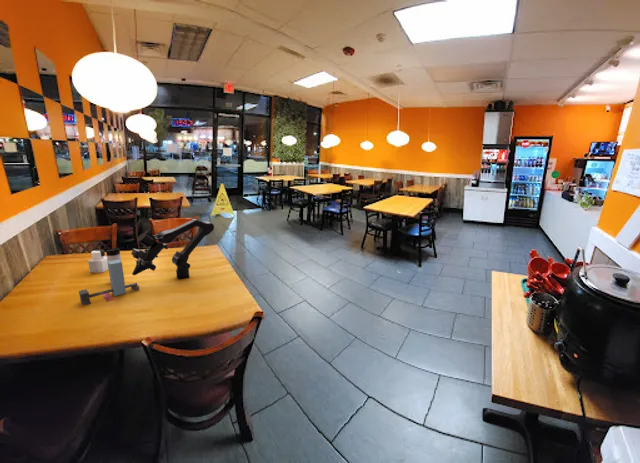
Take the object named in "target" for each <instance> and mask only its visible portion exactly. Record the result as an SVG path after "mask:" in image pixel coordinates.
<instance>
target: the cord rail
mask: <svg viewBox="0 0 640 463" xmlns="http://www.w3.org/2000/svg"><path fill="white" fill-rule="evenodd" d="M129 288H130V290H131V291H132V292H136V291H140V286H139V284H138V282H133V283H129V284H125V289H129ZM112 292H113V289H111V288H109V289H106V290H101V291H97V292H94V293H89V290H88V289H81V290H78V295H79V299H80V303H81V305H82V306H83V307H84V306H87V305H90V304H91V303H92V302H91V298H94V297H95V298H96V297H99V296H102V297H103V298H104V299H105V301H106V302H109V301H110V302H111V301H113V300H115V298H114V297H113V296H112V295H111V294H110V293H112Z"/></svg>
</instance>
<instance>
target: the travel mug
mask: <svg viewBox="0 0 640 463" xmlns="http://www.w3.org/2000/svg"><path fill="white" fill-rule="evenodd" d="M120 251H121V250H120V248H119V247H113V248H109V249H106V250H105V254H106V257H107V261H114V260H120V261H121V262H122V256H121V252H120Z"/></svg>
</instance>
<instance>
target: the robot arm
mask: <svg viewBox="0 0 640 463" xmlns="http://www.w3.org/2000/svg"><path fill="white" fill-rule="evenodd" d="M196 227H198V230H197V232H196V234H195V235H194V236H193V237H192V238H191V239H190V241H188V243H187V244H186V246H185V247H184V248H183V249H182V250H181V251H178V250H176V252H175V253H174V254H173V255H172V258H171V263H172V264H173V265H175V266H176V269H175V272H176V278H177V280H181V279H189V278H190V267H191V264H190V263H188V260H189V258H190V255H191V254H192V252H193V251H194V250H195V248H197V246H198V245H199V244H200V242H202V240H203V239H204V237H206V236H208V235H210V234H211V233H213V231H214V230H215V225H214V224H213V223H212V222H209V221H206V220H204V221H202V220H199V219H196V218H193V219H190V220H188V221H186V222H184V223H183V224H181V225H178V226H177V227H174V228H172V229H165V230H163V231H161V232H159V233H158V234H155V235H153V234H151V233H150V232H149V231H145V232H143V233H142V234H140V235H139V236H138V237H137V239H136V240H137V242H138V243H139V244H141V245H143V246H144V247H147V248H148V249H146V248H145V249H144V250H143V249H142V250H141V249H138V248H132V251H131V253H130V254H131V255H132V257H133V258H134V259H135V263H136V264H135V267H134V268H133V271H132V276H137V275H139V274H140V273H142V272H144V271H146V270H151V271H153V272H155V270H156V269H157V266H156V265H155V264H154V263H153V261H154V260H155V258H156V259H157V258H159V254H160V253H161V252H162V251H163V250H164V249H165V250H168V249H169V248H168V244H170V243H171V242H173V241H175V240H176V239H177V237H179V236H180V235H183V234H184V233H186V232H188V231H190V230H192V229H194V228H196Z"/></svg>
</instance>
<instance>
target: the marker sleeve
mask: <svg viewBox="0 0 640 463" xmlns="http://www.w3.org/2000/svg"><path fill="white" fill-rule="evenodd" d="M108 274H109V281H110V282H109V283H110V289H113V292H111V293H112V294H113V296H114V297H117V296H120V295H124V294H127V292H126V289H127V288H125V285H126V283H125V275H124V268H123V261H122V260H121V261H120V260H114V261H108Z"/></svg>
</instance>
